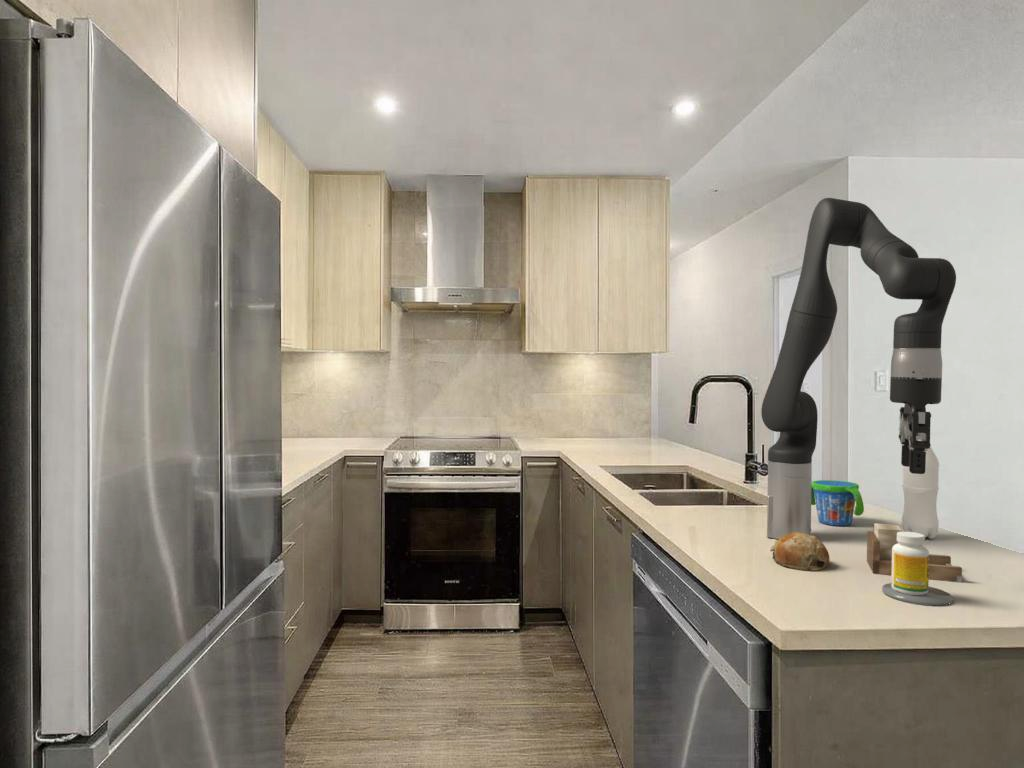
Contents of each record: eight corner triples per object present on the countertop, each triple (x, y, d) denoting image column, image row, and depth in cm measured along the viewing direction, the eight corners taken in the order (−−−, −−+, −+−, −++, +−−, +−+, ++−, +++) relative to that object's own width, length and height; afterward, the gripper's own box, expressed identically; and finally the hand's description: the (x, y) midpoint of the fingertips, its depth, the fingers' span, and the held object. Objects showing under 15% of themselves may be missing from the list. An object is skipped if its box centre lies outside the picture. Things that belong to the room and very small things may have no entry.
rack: (873, 573, 124) (873, 530, 124) (866, 560, 132) (867, 520, 132) (961, 582, 119) (962, 537, 119) (949, 568, 127) (949, 527, 127)
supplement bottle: (886, 585, 115) (887, 529, 115) (920, 587, 114) (921, 531, 114) (898, 595, 110) (899, 537, 109) (934, 597, 109) (935, 538, 108)
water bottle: (943, 541, 148) (945, 429, 148) (908, 539, 150) (909, 428, 150) (930, 534, 156) (931, 427, 155) (896, 532, 157) (898, 426, 157)
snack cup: (796, 517, 173) (796, 478, 173) (831, 516, 175) (831, 477, 175) (837, 531, 158) (838, 488, 157) (876, 529, 160) (876, 487, 160)
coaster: (887, 601, 108) (887, 597, 108) (878, 583, 118) (878, 580, 118) (959, 609, 105) (959, 605, 105) (944, 590, 114) (944, 586, 114)
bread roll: (794, 590, 125) (811, 557, 122) (756, 555, 133) (770, 522, 130) (829, 583, 130) (846, 550, 126) (790, 549, 138) (804, 518, 135)
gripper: (885, 374, 122) (882, 463, 122) (896, 375, 109) (893, 474, 109) (933, 375, 119) (929, 465, 119) (951, 376, 106) (947, 477, 106)
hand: (912, 469), depth 114 cm, fingers open, 8 cm apart
